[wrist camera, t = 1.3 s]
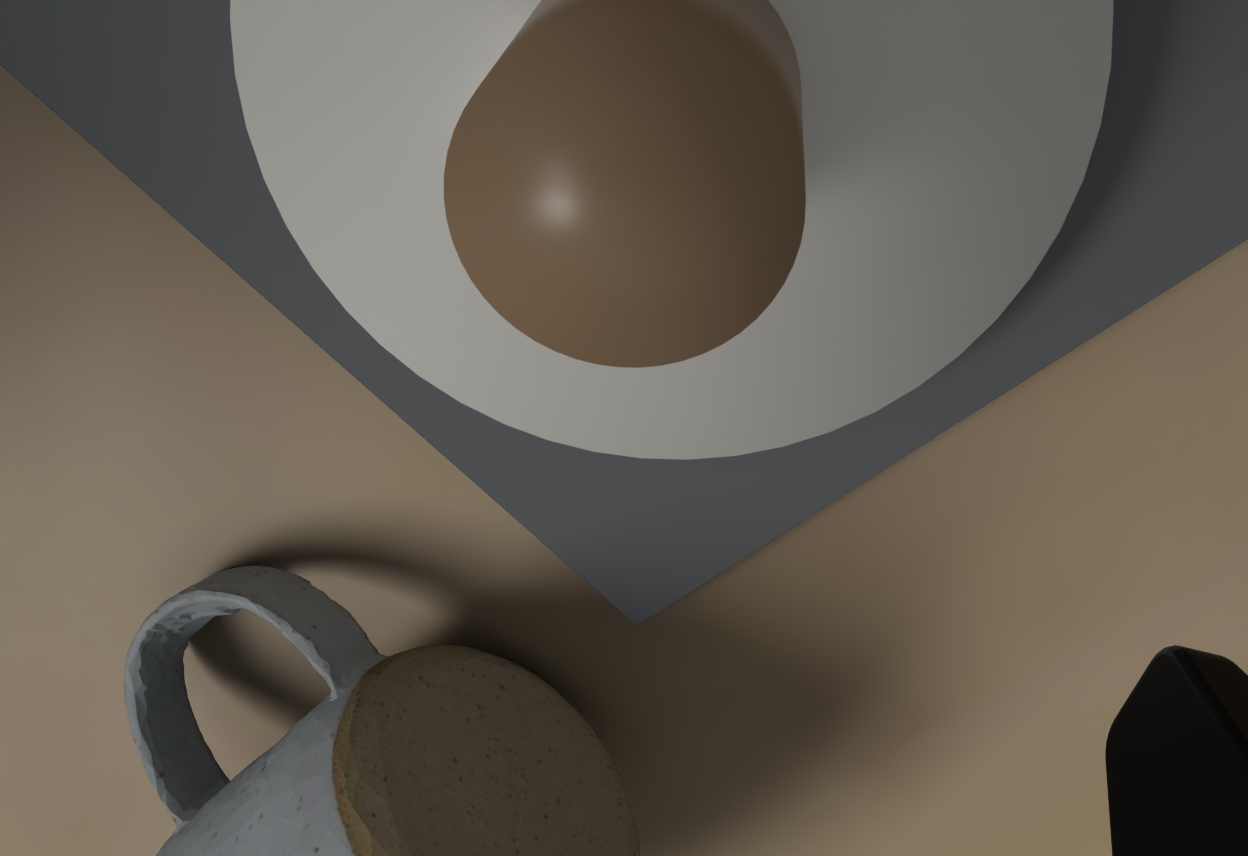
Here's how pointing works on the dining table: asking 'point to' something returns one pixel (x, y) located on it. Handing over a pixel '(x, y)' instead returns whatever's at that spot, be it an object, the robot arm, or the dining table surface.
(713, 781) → the dining table surface
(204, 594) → the ceramic mug
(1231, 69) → the mat
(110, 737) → the dining table surface
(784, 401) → the lid
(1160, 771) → the robot arm
